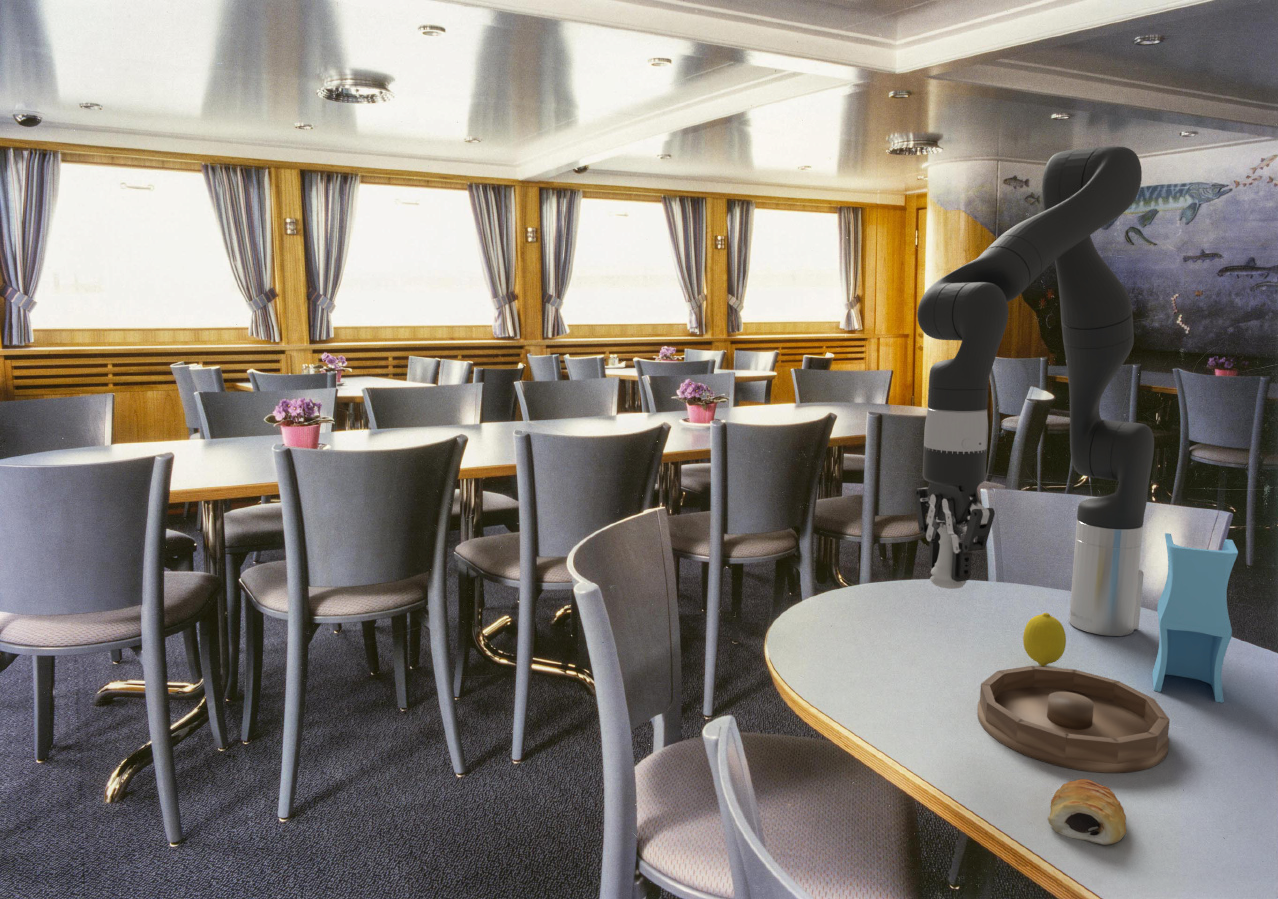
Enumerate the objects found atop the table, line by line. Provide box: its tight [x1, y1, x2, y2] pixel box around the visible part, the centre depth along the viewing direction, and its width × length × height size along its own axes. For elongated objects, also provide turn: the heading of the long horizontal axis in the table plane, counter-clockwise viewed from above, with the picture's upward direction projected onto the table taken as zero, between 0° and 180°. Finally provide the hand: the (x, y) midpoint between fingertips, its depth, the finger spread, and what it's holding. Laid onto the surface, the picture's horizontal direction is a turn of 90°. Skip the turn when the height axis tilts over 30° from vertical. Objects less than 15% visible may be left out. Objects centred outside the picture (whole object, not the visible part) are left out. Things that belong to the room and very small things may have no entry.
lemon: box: [1022, 612, 1067, 667], centre depth 124 cm, size 6×6×8 cm
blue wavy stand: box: [1151, 532, 1239, 704], centre depth 116 cm, size 8×8×20 cm
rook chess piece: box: [929, 522, 967, 590], centre depth 112 cm, size 4×4×8 cm
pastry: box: [1047, 778, 1127, 846], centre depth 88 cm, size 9×7×4 cm
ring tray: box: [977, 665, 1171, 774], centre depth 106 cm, size 21×21×4 cm
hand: (948, 573), depth 112 cm, fingers closed on rook chess piece, 4 cm apart
